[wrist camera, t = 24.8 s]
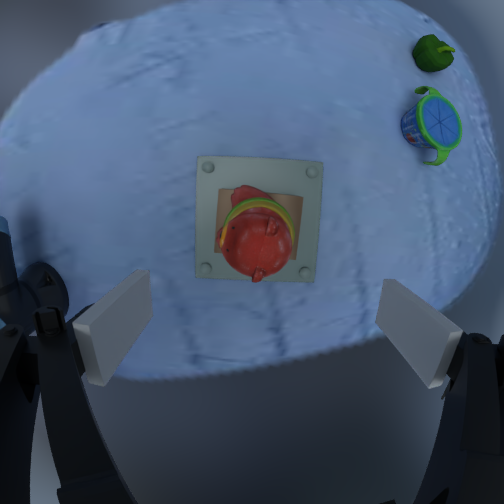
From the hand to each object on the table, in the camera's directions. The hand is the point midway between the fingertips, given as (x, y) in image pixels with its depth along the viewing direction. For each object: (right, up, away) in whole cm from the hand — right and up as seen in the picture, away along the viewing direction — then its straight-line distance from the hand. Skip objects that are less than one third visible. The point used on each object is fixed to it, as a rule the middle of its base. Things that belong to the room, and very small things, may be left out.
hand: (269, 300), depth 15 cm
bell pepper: (+37, +45, +27) cm, 64 cm away
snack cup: (+32, +27, +31) cm, 52 cm away
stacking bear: (0, +7, +29) cm, 29 cm away
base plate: (0, +8, +35) cm, 36 cm away
